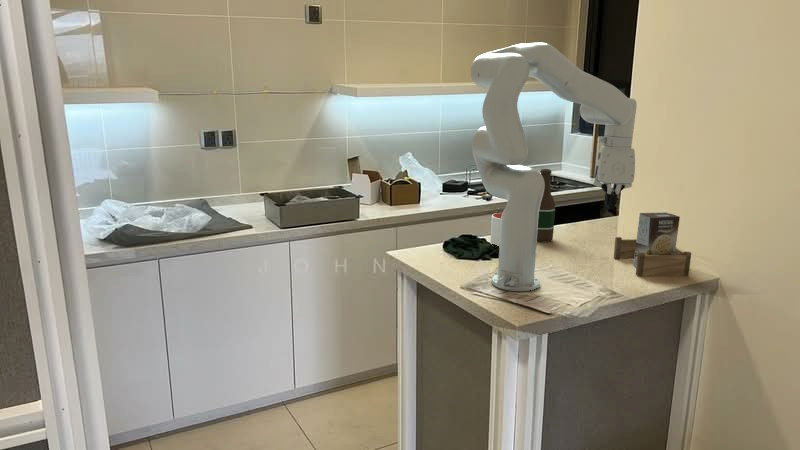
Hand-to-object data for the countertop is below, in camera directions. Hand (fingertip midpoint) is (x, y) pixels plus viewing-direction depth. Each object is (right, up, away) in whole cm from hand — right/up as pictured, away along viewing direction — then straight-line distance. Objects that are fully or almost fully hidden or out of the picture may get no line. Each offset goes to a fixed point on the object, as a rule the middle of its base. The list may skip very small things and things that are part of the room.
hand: (609, 207), depth 180 cm
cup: (-25, -12, +25) cm, 38 cm away
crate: (+13, -17, +5) cm, 23 cm away
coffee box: (+14, -18, +4) cm, 23 cm away
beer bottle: (-12, -10, +34) cm, 38 cm away
